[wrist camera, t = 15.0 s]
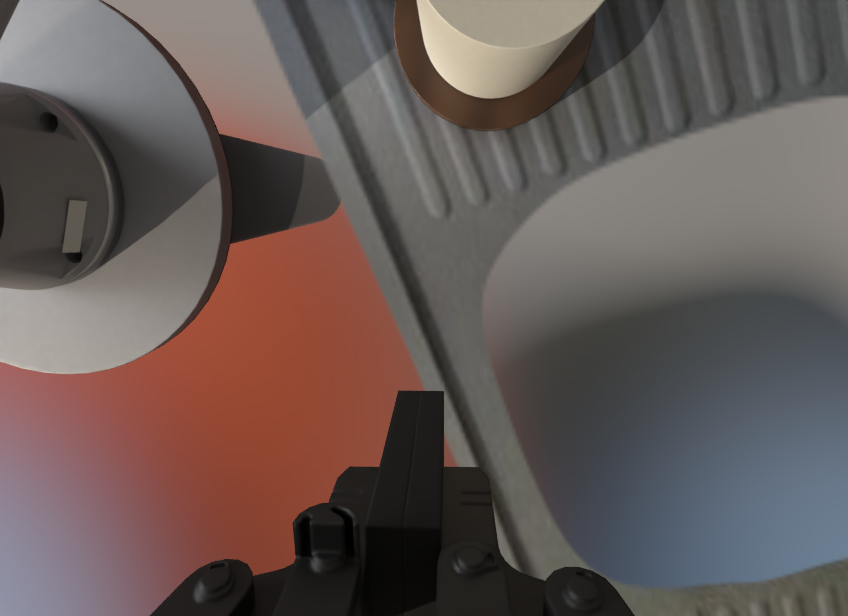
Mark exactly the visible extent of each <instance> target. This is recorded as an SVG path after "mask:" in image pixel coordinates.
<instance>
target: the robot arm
mask: <svg viewBox="0 0 848 616" xmlns="http://www.w3.org/2000/svg"><path fill="white" fill-rule="evenodd" d="M19 1H20V0H0V40H1V38H2V36H3V34H4V32H5V30H6V28H7V25H8V23H9V21H10V19H11V17H12V15H13V13H14V11H15V9H16V7H17V5H18V3H19ZM123 219H124V195H123V187H122V183H121V178H120V175H119V172H118V169H117V166H116V164H115V161H114V159H113V157H112V155H111V153H110V151H109V149H108V147H107V146H106V144H105V142H104V141H103V139H102V138H101V137H100V135H99V134H98V132H97V131H96V130H95V129H94V128H93V127H92V125H91V124H90V123H89V122H88V121H87V120H86V119H85V118H84V117H83V116H82V115H80V114H79V113H78V112H77V111H76V110H74V109H73V108H72V107H70V106H69V105H67V104H66V103H64V102H63V101H61V100H59V99H57V98H56V97H53V96H51V95H49V94H47V93H44V92H41V91H39V90H35V89H31V88H27V87H23V86H19V85H15V84H10V83H6V82H0V287H1V288H10V289H18V290H42V289H49V288H53V287H57V286H61V285H65V284H69V283H73V282H75V281H78V280H80V279H83V278H84V277H86V276H88V275H90V274H91V273H93V272H94V271H95V270H97V269H98V268H99V267H100V266H101V265H102V264H103V263H104V262H105V261H106V260H107V258H108V257H109V255H110V254H111V253H112V251H113V249H114V247H115V246H116V243H117V241H118V239H119V236H120V233H121V229H122V224H123ZM293 532H294V543H295V554H296V559H295V561H294V563H293V564H291V565H289V566H287V567H285V568H283V569H280V570H276V571H273V572H269V573H264V574H260V575H255V576H253V574H252V571H251V569H250V567H249V566H248V564H246V563H244V562H242V561H240V560H233V559H224V560H220V561H215V562H211V563H209V564H207V565H205V566H203V567H201V568H199V569H197V570H196V571H195V572H194V573H192V574H191V575H190V576H189V577H187V578H186V579H185V580H184V581H183V582H182V583H181V584H180V585H179V586H178V587H177V589H175V590H174V591H173V592H172V594H171V595H170V596H169V597H168V598H167V599H166V600H165V601H164V602H163V603H162V604H161V605H160V606H159V607H158V608H157V609H156V610H155V611H154V612H153V613H152V614H151V615H150V616H635V615H634V614H633V613H632V611H631V610H630V608H629V607H628V606H627V604H626V603H625V601H624V600H623V599H622V597H621V596H620V594H619V593H618V592H617V590H616V589H615V588H614V587H613V586H612V585H611V584H610V583H609V582H608V581H607V580H606V579H605V578H604V577H602V576H600V575H599V574H597V573H595V572H593V571H591V570H587V569H584V568H580V567H564V568H561V569H558V570H556V571H554V572H553V573H552V574H551V575H550V576H549V577H548V578H547V580H546V581H544V580H541V579H537V578H534V577H531V576H528V575H526V574H523V573H521V572H519V571H517V570H516V569H514V568H513V567H511V566H510V565H509V564H508V563H507V562H506V561H505V560H504V558H503V557H502V555H501V553H500V550H499V547H498V540H497V533H496V526H495V519H494V511H493V506H492V497H491V490H490V483H489V478H488V477H487V476H486V475H485V473H484V472H483V471H482V470H481V469H480V467H444V391H398V394H397V398H396V403H395V406H394V411H393V415H392V418H391V422H390V426H389V431H388V435H387V439H386V443H385V447H384V451H383V455H382V459H381V463H380V467H349V468H348V469H347V470H345V471H344V472H343V473H342V474H341V475H340V476H339V477H338V479H337V481H336V484H335V486H334V489H333V493H332V494H331V497H330V499H329V503H321V504H318V505H315V506H312V507H309V508H308V509H306V510H305V511H303V512H302V513H300V514H299V515H298V516H297V518H296V519H295V520H294V522H293Z"/></svg>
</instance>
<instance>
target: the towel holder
mask: <svg viewBox="0 0 848 616" xmlns="http://www.w3.org/2000/svg"><path fill="white" fill-rule="evenodd" d="M594 23H595V13H594V14H593V15H592V16H591V18H590V19H589V20H588V21H587V23H586V24H585V25H584V26H583V27H582V29H581V30H580V31H579V32H578V33H577V35H576V36H575V37H574V38H573V39H572V41H571V42H570V43H569V44H568V46H567V47H566V48H565V49H564V50H563V52H562V53H561V54H560V55H559V56H558V58H557V59H556V60H555V61H554V62H553V64H552V65H551V66H550V67H549V68H548V70H547V71H546V72H545V73H544V74H543V76H541V77H540V78H539V79H538V80H537V81H536V82H535V83H533V84H532V85H531V86H529V87H528V88H526V89H524V90H522V91H521V92H518V93H516V94H513V95H511V96H507V97H502V98H493V99H490V98H480V97H474V96H471V95H468V94H465V93H463V92H461V91H459V90H457V89H456V88H455V87H453V86H452V85H450V84H449V83H448V82H447V81H446V80H445V79H444V78H443V77H442V76H441V75H440V74H439V73H438V71H437V70H436V69H435V67H434V65H433V64H432V62H431V60H430V58H429V56H428V54H427V51H426V48H425V45H424V40H423V35H422V30H421V24H420V18H419V12H418V6H417V0H396V1H395V7H394V24H393V26H394V38H395V44H396V49H397V54H398V57H399V60H400V63H401V66H402V69H403V71H404V73H405V76H406V78H407V80H408V82H409V84H410V85H411V87H412V88H413V90H414V92H415V93H416V94H417V96H418V97H419V98H420V99H421V100H422V102H423V103H424V104H425V105H426V106H427V107H428V108H430V109H431V110H432V111H433V112H434V113H436V114H437V115H438V116H440V117H441V118H443V119H445V120H447V121H449V122H451V123H453V124H455V125H458V126H461V127H463V128H467V129H472V130H478V131H496V130H504V129H508V128H513V127H516V126H518V125H521V124H524V123H526V122H528V121H530V120H532V119H534V118H536V117H537V116H539V115H540V114H541V113H543V112H544V111H546V110H547V109H548V108H550V107H551V106H552V105H553V104H554V103H555V102H556V101H557V100H558V99H560V98H561V97H562V95H563V94H564V93H565V92H566V91H567V90H568V88H569V87H570V86H571V84H572V83H573V81H574V80H575V79H576V77H577V76H578V74H579V72H580V70H581V68H582V66H583V64H584V62H585V59H586V57H587V54H588V51H589V49H590V45H591V41H592V37H593V31H594Z"/></svg>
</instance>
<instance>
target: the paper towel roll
mask: <svg viewBox="0 0 848 616" xmlns="http://www.w3.org/2000/svg"><path fill="white" fill-rule="evenodd" d="M604 1H605V0H417V6H418V12H419V18H420V24H421V30H422V35H423V40H424V45H425V48H426V51H427V54H428V56H429V58H430V60H431V62H432V64H433V65H434V67H435V69H436V70H437V71H438V73H439V74H440V75H441V76H442V77H443V78H444V79H445V80H446V81H447V82H448V83H449V84H450V85H452V86H453V87H455V88H456V89H457V90H459V91H461V92H463V93H465V94H468V95H471V96H474V97H480V98H490V99H493V98H502V97H507V96H511V95H513V94H516V93H518V92H521V91H522V90H524V89H526V88H528V87H529V86H531V85H532V84H533V83H535V82H536V81H537V80H538V79H539V78H540V77H541V76H543V74H544V73H545V72H546V71H547V70H548V68H549V67H550V66H551V65H552V64H553V62H554V61H555V60H556V59H557V58H558V56H559V55H560V54H561V53H562V52H563V50H564V49H565V48H566V47H567V46H568V44H569V43H570V42H571V41H572V39H573V38H574V37H575V36H576V35H577V33H578V32H579V31H580V30H581V29H582V27H583V26H584V25H585V24H586V23H587V21H588V20H589V19H590V18H591V16H592V15H593V14H594V13H595V12H596V10H597V9H598V8H599V7H600V6H601V4H602V3H603V2H604Z"/></svg>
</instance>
